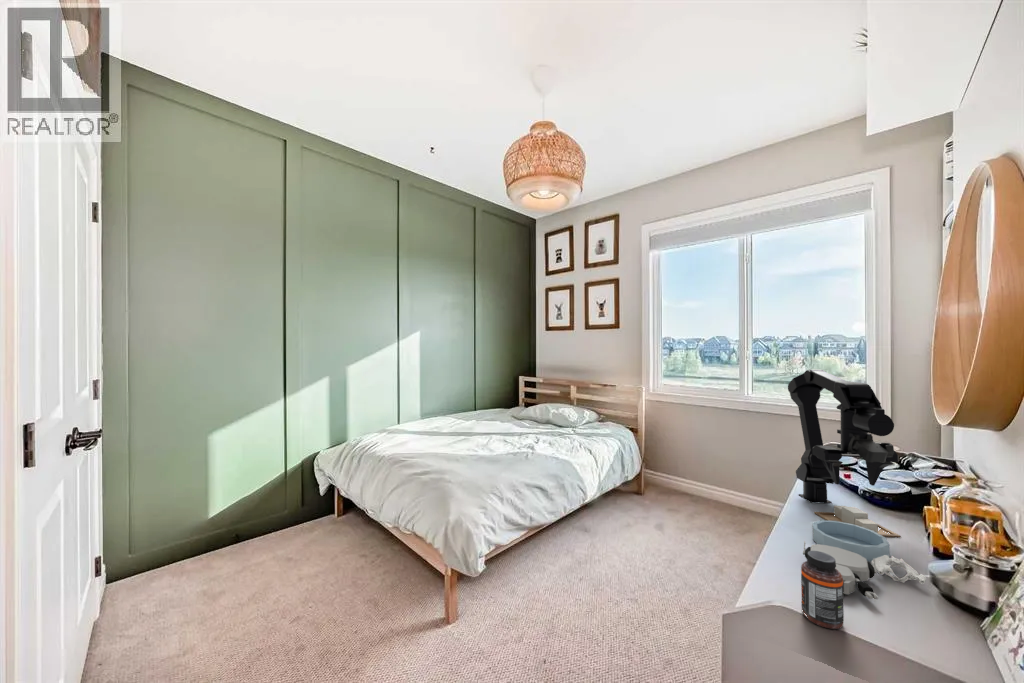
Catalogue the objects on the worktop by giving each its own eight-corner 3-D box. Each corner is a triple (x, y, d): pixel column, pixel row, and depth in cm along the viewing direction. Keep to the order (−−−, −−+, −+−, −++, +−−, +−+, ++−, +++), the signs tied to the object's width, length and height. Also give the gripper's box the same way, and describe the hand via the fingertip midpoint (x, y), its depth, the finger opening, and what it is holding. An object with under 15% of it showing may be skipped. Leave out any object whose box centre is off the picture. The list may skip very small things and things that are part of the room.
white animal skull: (875, 562, 83) (868, 546, 89) (875, 581, 83) (868, 564, 89) (928, 573, 79) (918, 556, 84) (928, 594, 79) (918, 575, 84)
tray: (814, 514, 116) (814, 511, 116) (857, 516, 115) (857, 513, 115) (851, 536, 102) (851, 533, 102) (900, 539, 101) (900, 535, 101)
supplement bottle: (802, 604, 75) (801, 544, 75) (843, 617, 71) (842, 554, 71) (800, 620, 70) (799, 556, 70) (844, 636, 66) (843, 568, 67)
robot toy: (882, 616, 73) (875, 574, 85) (881, 592, 73) (874, 554, 84) (800, 590, 81) (804, 555, 92) (800, 568, 81) (803, 536, 92)
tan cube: (834, 515, 115) (834, 505, 115) (845, 515, 114) (845, 506, 114) (842, 519, 112) (842, 509, 112) (854, 520, 111) (854, 510, 111)
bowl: (800, 533, 104) (800, 519, 104) (856, 535, 103) (856, 521, 103) (840, 561, 90) (839, 545, 90) (905, 564, 89) (905, 548, 89)
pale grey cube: (854, 529, 106) (854, 518, 106) (868, 529, 105) (868, 519, 106) (863, 534, 103) (863, 523, 103) (877, 534, 102) (877, 524, 103)
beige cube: (841, 520, 111) (841, 506, 111) (855, 521, 111) (855, 507, 111) (853, 527, 106) (853, 512, 107) (868, 528, 106) (867, 513, 106)
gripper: (840, 433, 102) (840, 494, 101) (917, 435, 100) (918, 496, 100) (810, 425, 113) (811, 479, 113) (880, 426, 111) (880, 481, 111)
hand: (854, 484), depth 109 cm, fingers open, 9 cm apart
